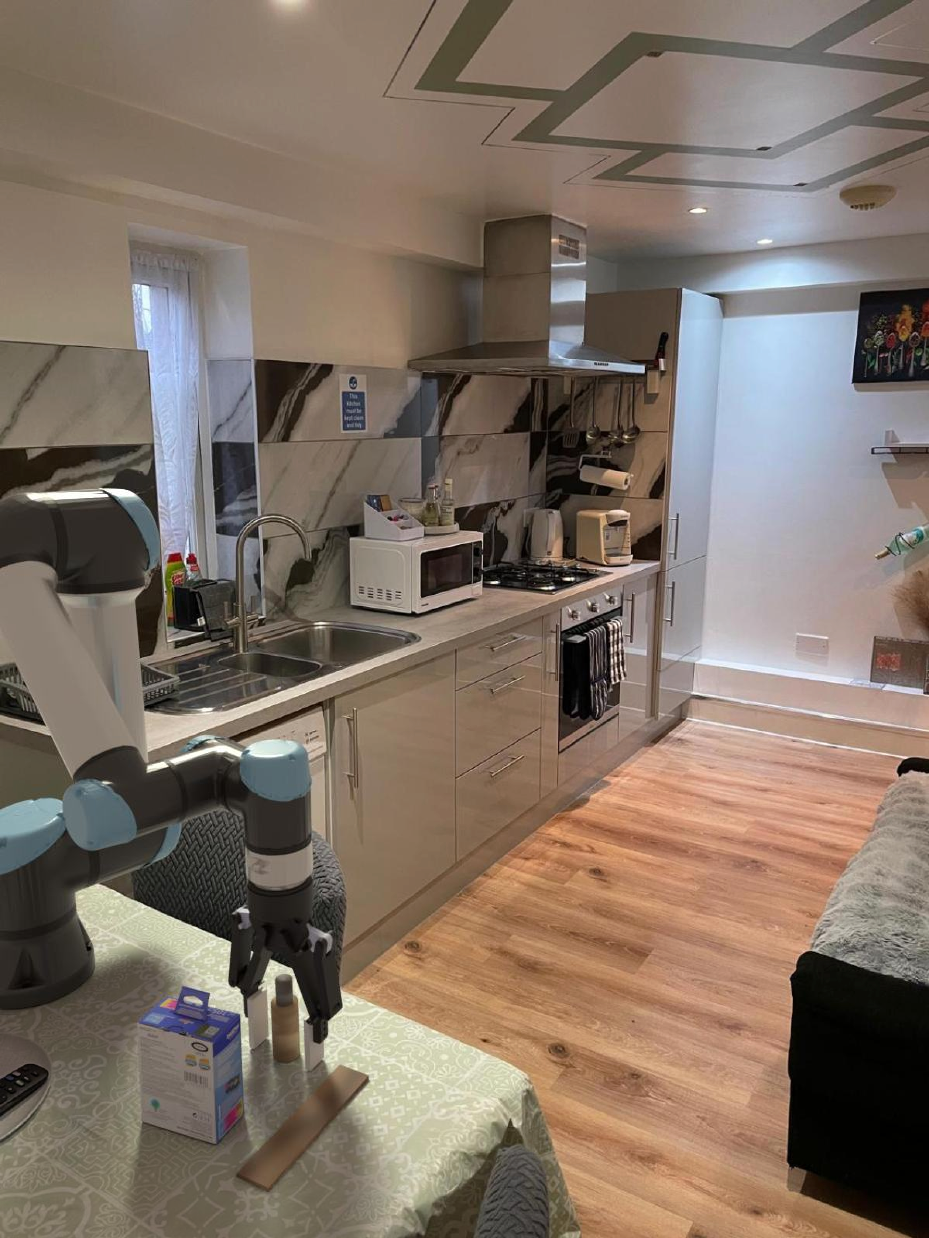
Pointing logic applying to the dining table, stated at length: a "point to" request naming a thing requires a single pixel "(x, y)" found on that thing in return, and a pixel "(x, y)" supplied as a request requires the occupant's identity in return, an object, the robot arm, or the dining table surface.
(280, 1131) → the strip
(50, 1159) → the dining table surface
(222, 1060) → the ink cartridge box
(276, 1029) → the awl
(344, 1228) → the dining table surface
